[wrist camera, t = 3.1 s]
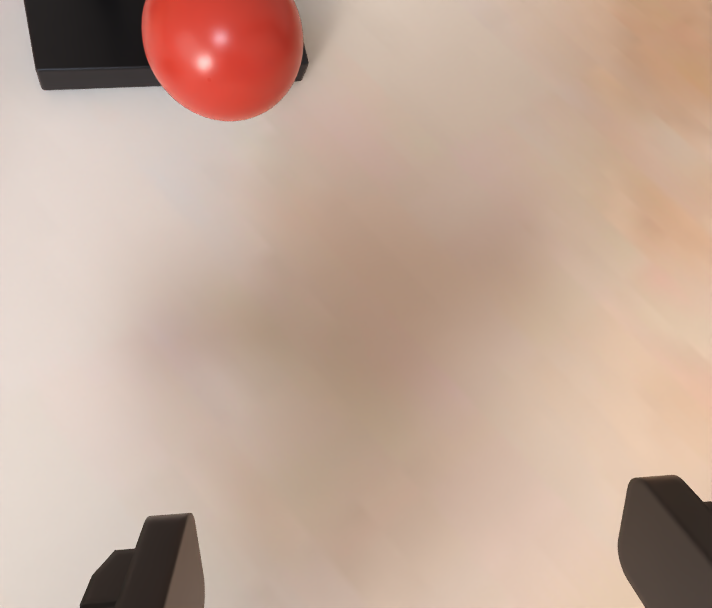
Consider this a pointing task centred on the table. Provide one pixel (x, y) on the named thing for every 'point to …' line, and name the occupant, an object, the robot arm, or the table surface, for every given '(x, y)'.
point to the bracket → (92, 44)
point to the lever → (224, 53)
